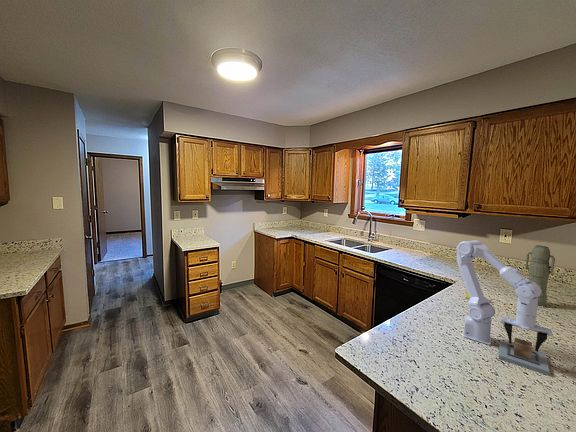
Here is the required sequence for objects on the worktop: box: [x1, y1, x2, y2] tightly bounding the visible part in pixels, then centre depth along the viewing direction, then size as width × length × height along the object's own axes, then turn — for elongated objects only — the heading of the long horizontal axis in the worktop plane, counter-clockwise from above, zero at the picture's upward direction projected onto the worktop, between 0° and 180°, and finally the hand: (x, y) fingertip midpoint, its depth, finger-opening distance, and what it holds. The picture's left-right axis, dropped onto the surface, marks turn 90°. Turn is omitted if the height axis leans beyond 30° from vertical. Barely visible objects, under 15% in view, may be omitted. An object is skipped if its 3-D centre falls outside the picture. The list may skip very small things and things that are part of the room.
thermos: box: [525, 244, 556, 307], centre depth 151 cm, size 9×12×35 cm
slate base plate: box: [498, 339, 550, 377], centre depth 101 cm, size 14×14×2 cm
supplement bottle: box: [465, 288, 470, 301], centre depth 158 cm, size 6×6×10 cm
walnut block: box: [513, 337, 533, 360], centre depth 101 cm, size 5×5×5 cm
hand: (523, 346), depth 101 cm, fingers open, 7 cm apart
